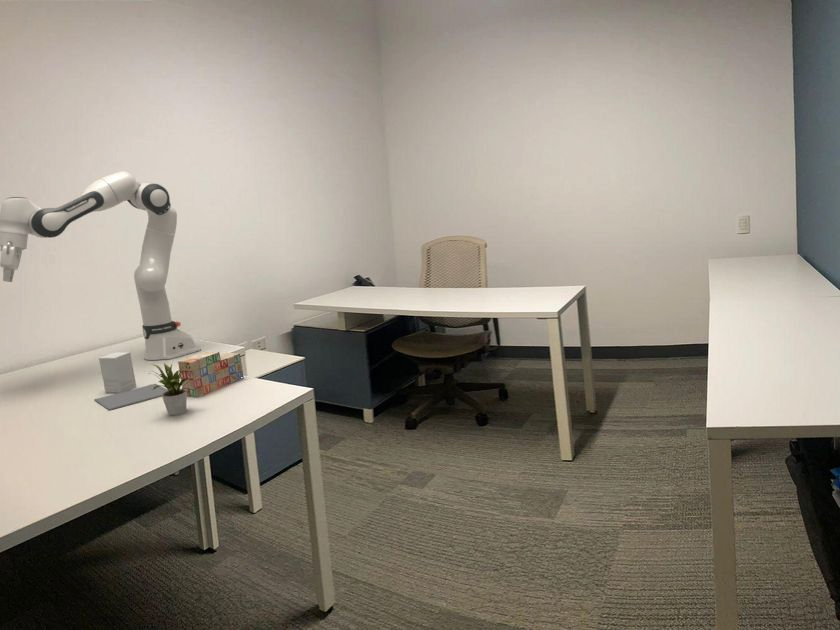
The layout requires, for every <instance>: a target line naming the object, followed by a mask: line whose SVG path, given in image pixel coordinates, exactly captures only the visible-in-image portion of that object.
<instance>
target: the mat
mask: <svg viewBox="0 0 840 630" xmlns="http://www.w3.org/2000/svg"><path fill="white" fill-rule="evenodd" d="M158 385H159V384H157V383H152V385H151V384H147V385H143V386H141V387H135V388H132V389H130V390H127V391H124V392H121V393H112V394H108V395H105V396H102V397H97V398H95V399H94V401H95V402H96V403H97V404H99V405H100V406H101V407H103V408H105V409H107V410H108V411H113V410H117V409H121V408H124V407H127V406H132V405H136V404H138V403H143V402H146V401H151V400H154V399H157V398H161V397H162V394H163V393H165V392H167V391H168V389H167V388H166V387H164V386H162V385H161V386H159V387H157V388H156V389H154V390H153V388H154V387H155V386H158ZM164 390H165V391H164Z"/></svg>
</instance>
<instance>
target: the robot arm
mask: <svg viewBox="0 0 840 630" xmlns="http://www.w3.org/2000/svg"><path fill="white" fill-rule="evenodd" d="M170 200H171V198H170V194H169V192H168V190H167V189H166V188H165V187H164V186H162V185H160V184H158V183H153V182H138V181H137V180H136V178H135V177H134V176H133V175H132V174H131V173H130V172H127V171H125V170H124V171H117V172H115V173H114V172H113V173H112V174H108V175H106V176H104V177H103V176H102V178H101V177H100V178H99V179H97V180H95V181H94V182H91V183H90V184H89V185H88V186H86V187H85V188H84V189H83V192H82V194H80V195H79V196H78V197H77V198H75V199H73V200H71V201H69V202H67V203H65V204H62V205H60V206H58V207H45V208H41V207H39V206H38V205H37V204H35V203H34V202H32V201H31V200H30V199H29V198H27V197H23V196H22V197H21V196H12V197H11V196H10V197H7V198H5V199H3V201H2V203H1V207H0V251H1V254H0V268H3V269H2V272H3V273H2V274H3V275H2V277H3V278H2V280H3V282H8V283H13V280H14V276H15V275H14V274H15V271H18V269H19V267H20V262H21V259H22V253H23V251H24V250H26V249H27V247H28V246H27V245H28V240H29V239H28V236H29V235H32V236H35V237H37V238H42V239H45V238H56V237H58V236H60V235H61V234H62V233H64V232H65V230H66V229H67V227H68V226H69V225H70V224H71V223H73V222H75V221H76V220H79V219H81V218H82V217H84V216H86V215H88V214H90V213H93V212H101V211H106V210H108V209H111V208H114V207H116V206H118V205H119V204H122V203H124V202H128V204H130V205H131V206H132V207H133V208H135V209H138V210H141V211H146V212H147V216H148V221H147V225H146V229H145V234H144V238H143V241H142V245H141V252H140V253H141V254H140V260H139V266H137V267H136V269H135V271H134V274H133V279H134V284H135V288H136V294H137V299H138V303H139V306H140V308H139V309H140V313H141V319H142V335H143V337H144V340H145V341H144V342H145V343H144V344H145V345H144V346H145V349H144V352H145V353H144V359H145V360H146V361H155V360H172V359H175V358H179V357H182V356H185V355H186V356H187V355H189V354H192V353H197V352H200V351H202V348H201V346H199V345H197V344H196V343H195V341H194V339H193V337H192V335H190V334H188V333H186V332H185V331H182V330H180V329H178V328H179V327H180V326H181V322H180V321H173V320H172V315H171V310H170V309H171V308H170V302H169V300H168V295H167V292H166V287H165V286H166V285H167V280H168V273H169V267H170V261H171V253H172V248H173V244H174V240H175V235H176V230H177V225H178V224H177V222H178V221H177V220H178V219H177V218H178V213H177V211H176V210H175V208H173V207H171V206H172V204H171V201H170Z"/></svg>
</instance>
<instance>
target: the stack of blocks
mask: <svg viewBox="0 0 840 630" xmlns="http://www.w3.org/2000/svg"><path fill="white" fill-rule="evenodd" d="M220 353H221V352H220V351H208V350H205V351H203V352H200V353H197V354H193V355H192V356H189V357H186V358H182V359H179V360H178V361H177V364H178V370H179V372H180V370H181V367H182V365H183V368H182V371H181V373H180V375H182V374H183V375H182V376H181V379H180V381H181V380H183V379H186V378H190V379H187V380H186V381H184V382H183V384H182V385H181V389H182V388H183V389H185V390H187V397H189V398H194V399H195V398H199V397H201V396H204V395H207V394H209V393H212V392H214V391H216V389H217V390H218V388H219V389H221V388H223V386H224V387H226V386H228V385H230V384H233V383H236V382H238V381H240V380H239V379H241V377H243V378H244V371H243V363H242V359H241V358H242V357H241V353H238V352H237V353H236V352H225V353H222V354H220ZM191 364H192V365H191ZM190 365H191V366H190ZM188 366H189V367H188ZM187 367H188V368H187ZM186 368H187V369H186ZM185 370H186V371H185ZM184 371H185V372H184ZM183 372H184V373H183ZM191 380H192V381H191ZM237 380H238V381H237ZM241 380H242V379H241ZM188 381H190V382H188ZM235 381H236V382H235ZM187 382H188V383H187ZM232 382H233V383H232ZM186 383H187V384H186ZM227 384H228V385H227ZM225 385H226V386H225ZM183 386H184V387H183Z"/></svg>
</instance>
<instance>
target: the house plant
mask: <svg viewBox="0 0 840 630" xmlns="http://www.w3.org/2000/svg"><path fill="white" fill-rule="evenodd" d="M173 362H174V360H173V361H172V363H171V365H170V366H169V365H168V364H166V363H165V362H163V366H164V371H165V373H164V371H163V370H162V368H161V367H160V366H159V365H156V364H154V363H153V364H151V365H152V366H155V368H157V370H158V371H159V373H158V372H156V371H153V370H151V372H153V375H154V376H156V377H157V378H158V379H159V380H158V382H157V383H160V384H162V385H163V388H165V389H168V391H167V392H165V393H163V394H162V400H163V403H164V406H165V409H166V411H167V414H168V415H169V416H179V415H183V414H184V413H186V412H187V405H188V404H187V399H188V398H187V397H188V396H187V390H185V389H183V388H182V384H183V382H184V381H186V380H187V379H190V378H186V379H183V380H181V376H182V375H183V374H182V375H180V373H181V371H182V368H183V365H182V367H181V370H180V372H179V369H178V370H176V371H175V372H174V373H173V371H172V369H173V367H172V366H173ZM191 365H192V364H191ZM191 365H190V366H191ZM188 367H189V366H188ZM188 367H187V368H188ZM187 368H186V369H187ZM185 371H186V370H185ZM185 371H184V372H185ZM142 372H144V371H142ZM184 372H183V373H184ZM148 374H149V375H150V374H151V375H152V373H148ZM157 375H158V376H157ZM191 381H192V380H191ZM188 382H190V381H188ZM188 382H187V383H188ZM187 383H186V384H187ZM152 384H153V383H152ZM152 384H150V385H152ZM157 385H158V386H155V387H154V388H153V390H154V389H156V388H157V387H159V386H161V387H162V385H159V384H157ZM183 387H184V386H183ZM164 391H165V390H164Z"/></svg>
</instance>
